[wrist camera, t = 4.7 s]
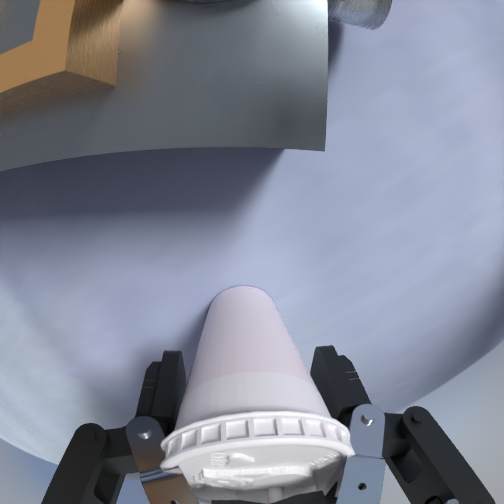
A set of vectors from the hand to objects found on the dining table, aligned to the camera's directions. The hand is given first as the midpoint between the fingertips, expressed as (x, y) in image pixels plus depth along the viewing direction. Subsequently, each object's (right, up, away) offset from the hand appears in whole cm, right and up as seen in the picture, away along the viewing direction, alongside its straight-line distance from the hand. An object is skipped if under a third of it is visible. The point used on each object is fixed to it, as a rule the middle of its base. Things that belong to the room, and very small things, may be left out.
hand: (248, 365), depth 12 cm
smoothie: (0, +2, +4) cm, 4 cm away
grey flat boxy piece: (-5, +16, -3) cm, 17 cm away
